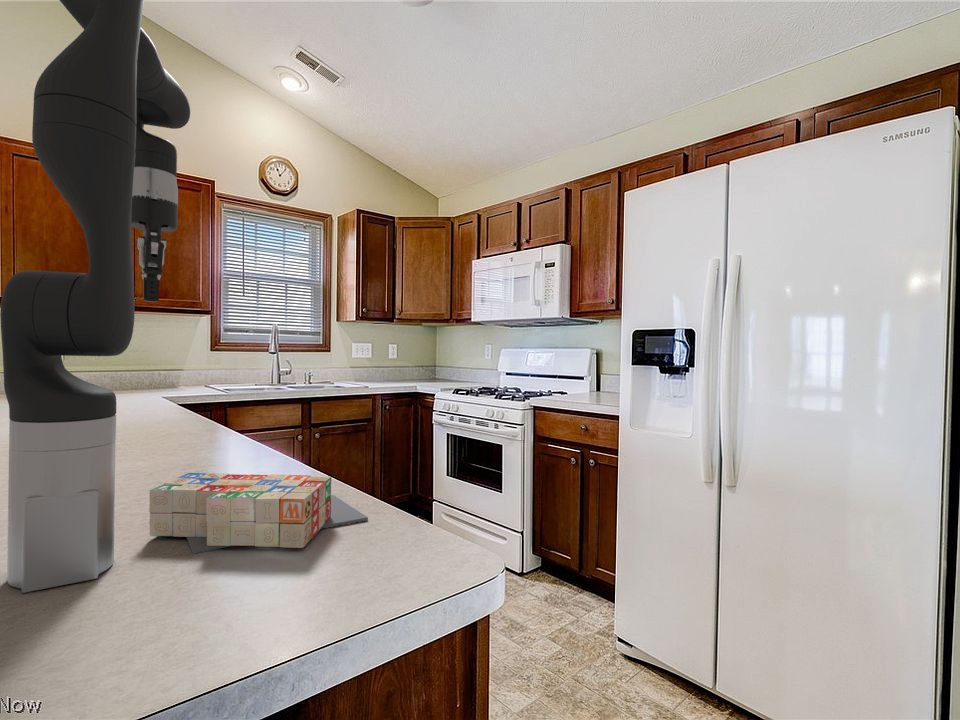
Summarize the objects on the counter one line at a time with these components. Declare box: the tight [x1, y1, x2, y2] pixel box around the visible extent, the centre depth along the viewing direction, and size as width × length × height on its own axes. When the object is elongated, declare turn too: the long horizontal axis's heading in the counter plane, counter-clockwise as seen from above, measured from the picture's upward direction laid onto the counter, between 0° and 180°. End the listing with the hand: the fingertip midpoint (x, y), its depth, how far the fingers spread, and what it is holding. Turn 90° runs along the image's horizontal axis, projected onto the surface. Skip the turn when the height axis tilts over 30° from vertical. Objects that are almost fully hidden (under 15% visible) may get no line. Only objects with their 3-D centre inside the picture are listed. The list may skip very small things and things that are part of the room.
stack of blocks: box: [148, 472, 332, 549], centre depth 70 cm, size 21×6×12 cm
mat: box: [185, 494, 369, 554], centre depth 76 cm, size 14×23×1 cm, turn 127°
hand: (150, 301), depth 88 cm, fingers closed
